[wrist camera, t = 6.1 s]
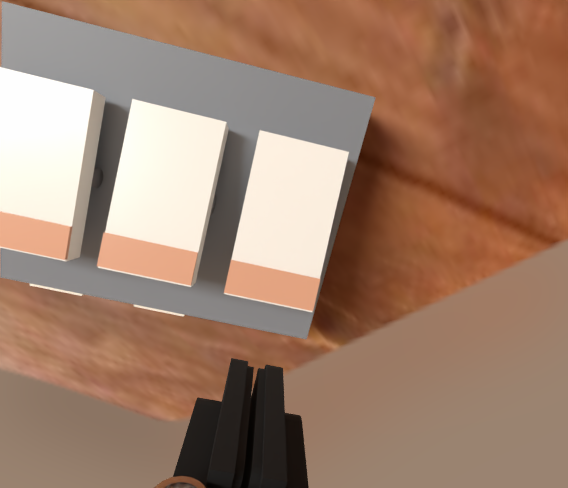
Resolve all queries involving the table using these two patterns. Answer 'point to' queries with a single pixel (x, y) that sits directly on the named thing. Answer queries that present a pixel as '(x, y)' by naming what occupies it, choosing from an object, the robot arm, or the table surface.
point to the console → (193, 99)
